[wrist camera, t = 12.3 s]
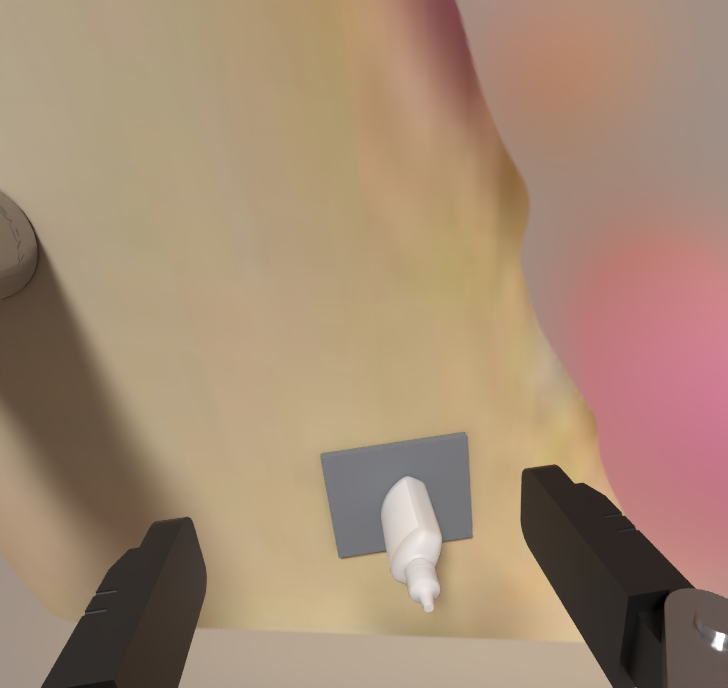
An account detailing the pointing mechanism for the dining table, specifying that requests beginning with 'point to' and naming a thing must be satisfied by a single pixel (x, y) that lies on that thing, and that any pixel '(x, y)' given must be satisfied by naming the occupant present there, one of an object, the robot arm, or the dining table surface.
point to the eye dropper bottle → (412, 539)
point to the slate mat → (381, 472)
